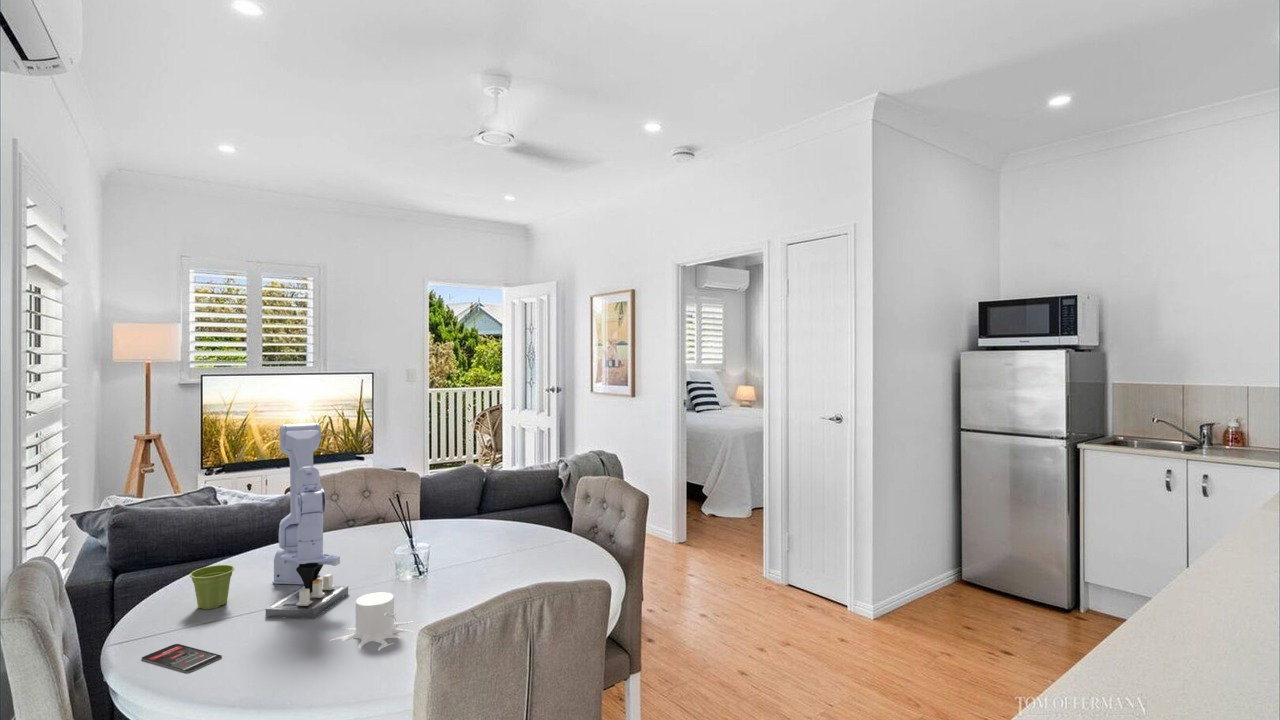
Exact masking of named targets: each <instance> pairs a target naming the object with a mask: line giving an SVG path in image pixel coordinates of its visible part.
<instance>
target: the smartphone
mask: <svg viewBox="0 0 1280 720" xmlns="http://www.w3.org/2000/svg"><path fill="white" fill-rule="evenodd" d="M222 658H223V655H221V654H217V653H214V652H210V651H207V650H202V649H199V648H195V647H191V646H187V645H185V644H180V643H174V644H171V645H169V646H166V647H163V648H161V649H160V650H159V649H158V650H156V651H153V652H152V653H149V654H147V655H144V656H142V657H141V661H143V662H146V663H150V664H153V665H157V666H161V667H163V668H167V669H170V670H173V671H178V672H180V673H183V674H191V673H193V672H195V671H197V670H199V669H202V668H204V667H207V666H208V665H210V664H213V663H215V662H217V661H220V660H222Z"/></svg>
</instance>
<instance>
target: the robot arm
mask: <svg viewBox="0 0 1280 720" xmlns="http://www.w3.org/2000/svg"><path fill="white" fill-rule="evenodd" d="M321 427H322V426H321V424H320V423H319V422H311V423H292V424H291V423H290V424H285V423H283V424H281V425H280V428H279V450H280V452H281V454H283V455H287V458H288V461H289V482H290V483H289V488H290V493H289V494H290V497H289V498H290V501H289V502H290V506H289V507H290V511H289V514H287V515H286V516H285V517H284V518H282V519H280V522H279V525H278V526H279V528H278V546H279V548H278V550H277V551H276V553H275V554H274V558H273V581H272V582H271V584H277V585H284V584H285V585H303V586H305V589H310V593H311V592H313V581H314V580H315V579H318V577H320V575H321V570H322V568H323V566H325V565H327V566H329V565H330V566H334V567H336V566H338V565H339V564H341V555H333V554H328V553H324V513H326V507H327V496H326V493H325V489H324V487H323V486H322V483H321V476H320V471H319V469H318V468H316V467H315V466H314V452H316V451H317V450H318V448H319V446H320V443H321V441H322V428H321Z"/></svg>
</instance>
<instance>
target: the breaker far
mask: <svg viewBox="0 0 1280 720" xmlns="http://www.w3.org/2000/svg"><path fill="white" fill-rule="evenodd" d="M333 576H334V575H333V574H332V573H327V574H325V575H323V576H322V577H323V578H322V586H323V587H322V590H331V589H333V588H334V587H335V586H336V585H334V584H333V578H334V577H333Z"/></svg>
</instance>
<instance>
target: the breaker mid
mask: <svg viewBox="0 0 1280 720" xmlns="http://www.w3.org/2000/svg"><path fill="white" fill-rule="evenodd" d="M322 586H323V578H317V579H315V580H314V581H313V594H312V595H310V597H315V598H321V597H322V596H324V595H325V593H322Z"/></svg>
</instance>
